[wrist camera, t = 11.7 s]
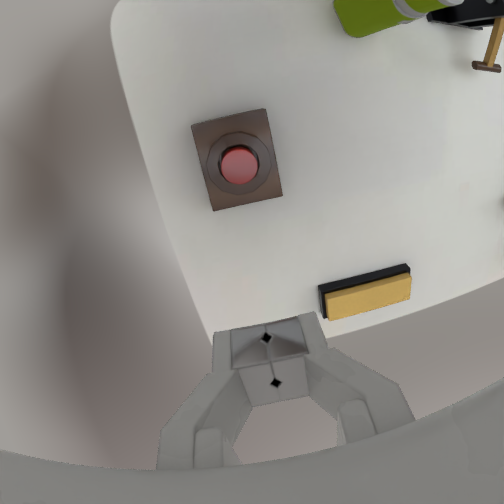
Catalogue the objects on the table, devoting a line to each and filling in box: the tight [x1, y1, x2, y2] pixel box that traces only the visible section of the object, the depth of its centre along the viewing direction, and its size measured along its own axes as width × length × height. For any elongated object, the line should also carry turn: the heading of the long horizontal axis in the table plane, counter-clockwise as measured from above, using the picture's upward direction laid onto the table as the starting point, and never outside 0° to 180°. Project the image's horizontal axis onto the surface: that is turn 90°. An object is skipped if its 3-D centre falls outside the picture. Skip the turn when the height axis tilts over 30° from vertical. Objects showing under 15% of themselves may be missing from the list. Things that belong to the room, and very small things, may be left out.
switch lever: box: [472, 18, 504, 73], centre depth 21 cm, size 12×5×2 cm
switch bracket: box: [427, 0, 504, 30], centre depth 21 cm, size 4×10×13 cm, turn 102°
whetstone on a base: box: [318, 263, 412, 321], centre depth 43 cm, size 5×14×3 cm, turn 102°
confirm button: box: [221, 147, 258, 184], centre depth 31 cm, size 4×4×2 cm
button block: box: [191, 109, 283, 211], centre depth 33 cm, size 10×8×4 cm
